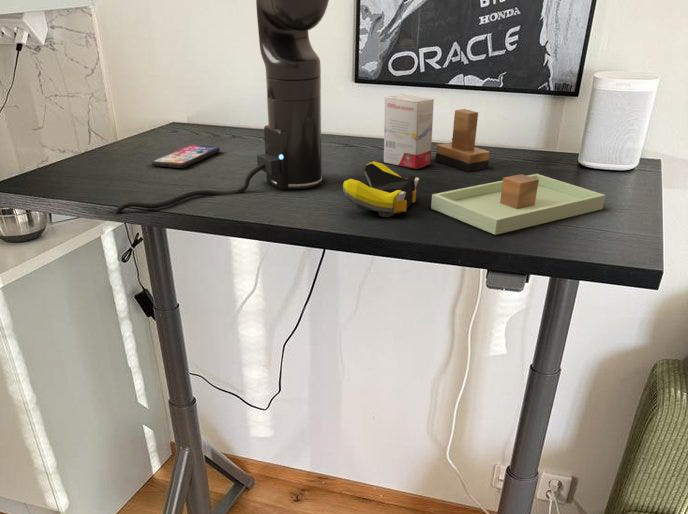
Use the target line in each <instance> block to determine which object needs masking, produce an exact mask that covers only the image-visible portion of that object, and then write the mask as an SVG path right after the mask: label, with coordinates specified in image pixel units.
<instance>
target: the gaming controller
mask: <svg viewBox="0 0 688 514" xmlns="http://www.w3.org/2000/svg"><path fill="white" fill-rule="evenodd" d="M364 175H365V178H366V180H367V182H368V184H369V185H367V184H365V183H364V182H362V181H360V180H356V179H353V178H349V179H347V180H344V182H343V184H342V192H343V194H344V195H345V196H346V198H347V199H348V201H349V202H351V204H353V205H354V206H355V207H356V208H357V209H361V210H365V211H372V212H377V213H378V215H379V217H384V218H391V217H393V216H395V214H401V213H403V212H407V210H408V208H409V207H410V206H411V205H412V204H413V203H416V201H417V189H416V188H417V185H418V183H419V180H420V178H419V177H416V175H412V176H409V177H406V178H405V177H402V176H401V175H399V174H398V173H396V172H394V171H393V170H392V169H390V168H389V167H388V166H386V165H385V163H381V162H378V161H370V162H369V163H367V164H365V167H364Z"/></svg>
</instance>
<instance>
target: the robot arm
mask: <svg viewBox="0 0 688 514" xmlns="http://www.w3.org/2000/svg"><path fill="white" fill-rule="evenodd" d="M329 1H330V0H255V6H256V19H257V28H258V29H257V31H258V41H259V50H260V55H261V59H262V61H263V63H264V68H265V76H266V77H265V81H266V82H265V83H266V103H267V122H268V123H267V125H266V124H265V125H264V127H263V135H264V153H259V154H256V164H257V166H256V167H254V168H253V169H252V170H250V172H248V174H247V175H246V177H245V180H244V183H243V185H242V186H241V187H239V188H236V189H235V190H230V191H222V190H221V191H220V190H210V189H199V190H192V191H189V192H184V193H182V194H179V195H177V196H174V197H172V198H169V199H166V200H162V201H159V202H150V203H149V202H142V201H141V202H140V201H126V202H123V203H121V204H120V205H118V206H117V207H116V208H115V210H114V211H113V213H112V214H113V215H119V214H121V213H122V211H124V210H125V209H127V208H142V209H159V208H164V207H167V206H170V205H174V204H175V203H178V202H180V201H183V200H185V199H189V198H193V197H197V196H224V195H225V196H227V195H237V194H242V193H243V192H245V191H246V190H248V187H249V185H250V182H251V179H252V178H253V177H254V176H255V175H256V174H258V173H260V172H261V171H262V172H263V173H266V176H265V177H266V183H268V184H269V185H271V186H273V187H276V188H277V189H280V190H282V191H286V190H307V189H310V188H311V189H313V188H316V187H318V186H320V185H322V183H323V175H322V172H323V168H322V89H321V88H322V75H321V74H322V73H321V72H322V71H321V70H322V69H321V68H322V67H321V59H320V57H319V55H318V54H317V53H316V51H315V50H314V48H313V46H312V44H311V42H310V36H309V31H310V30H312V29H314V28H315V27H317V26H318V25H319V23H320V22H321V21H322V19H323V18H324V15H326V11H327V9H328V6H329Z"/></svg>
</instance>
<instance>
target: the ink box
mask: <svg viewBox="0 0 688 514" xmlns="http://www.w3.org/2000/svg"><path fill="white" fill-rule="evenodd" d="M434 103H435V99H434V98H428V97H423V96H418V95H411V94H406V93H405V94H404V93H398V94H395V95H389V96H386V97H384V116H383V117H384V121H383V122H384V123H383V127H384V128H383V129H384V130H383V163H384V164H389V165H394V166H400V167H404V168H409V169H413V170H418V169H421V168H424V167H426V166H428V165H431V164H432V143H433V141H432V140H433V122H434Z"/></svg>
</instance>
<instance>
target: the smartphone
mask: <svg viewBox="0 0 688 514" xmlns="http://www.w3.org/2000/svg"><path fill="white" fill-rule="evenodd" d="M220 151H221V149H220V147H219V146H211V145H210V146H209V145H196V144H189V145H185V146H184V147H181V148H178V149H177V150H174V151H172V152H169V153H167V154H165V155H162V156H159V157H158V158H155V159H153V160H151V166H153V167H164V168H174V169H185V168H187V167H188V166H192V165H193V164H195V163H197V162H200V161H202V160H204V159H207V158H209V157H211V156H213V155H215V154H217V153H219V152H220Z"/></svg>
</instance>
